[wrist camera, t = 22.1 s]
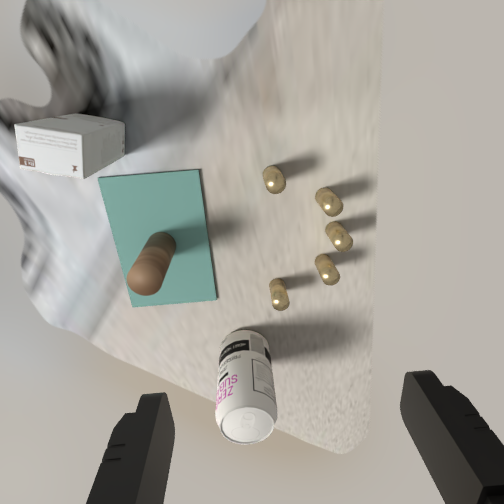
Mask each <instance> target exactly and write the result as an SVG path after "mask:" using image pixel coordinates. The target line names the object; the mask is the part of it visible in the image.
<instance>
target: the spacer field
mask: <svg viewBox="0 0 504 504" xmlns="http://www.w3.org/2000/svg"><path fill="white" fill-rule="evenodd" d="M263 179H264V182H265V185H266V188H267V190H268V191H269V192H270V193H272V194H279V193H281V192H282V191H283V190H284V189H285V186H286V181H285V178H284V177H283V175H282V173H281V172H280V170H279V169H278V168H277V167H276V166H269V167H267V168H266V169H265V170H264V172H263ZM315 199H316V201H317V203H318V204H319V205H320V207H321V208H322V209H323V211H324V212H325V213H326V214H327V215H328V216H331V217H334V216H337V215H339V214H340V213H341V212H342V210H343V203H342V201H341V200H340V199H339V198H338V197H337V196H336V195H335V194H334V193H333V192H332V191H331V190H330V189H329V188H321V189H319V190H318V191H317V193H316V195H315ZM325 232H326V234H327V236H328V237H329V239H330V240H331V242H332V243H333V245H334V246H335V248H336V249H337V250H338V251H341V252H345V251H348V250H349V249H350V248H351V247H352V245H353V239H352V238H351V236H350V235H349V234H348V233H347V231H346V230H345V229H344V228H343V226H342V225H341V224H340V223H339V222H336V221H334V222H330V223H329V224H328V225H327V226H326V229H325ZM315 265H316V267H317V269H318V272H319V274H320V276H321V278H322V280H323V282H324V283H325V284H326V285H334V284H336V283H337V282H338V281H339V279H340V274H339V272H338V271H337V269H336V267H335V265H334V264H333V262H332V260H331V259H330V257H329V256H328V255H326V254H321V255H319V256H317V257H316V259H315ZM269 287H270V293H271V299H272V305H273V307H274V309H276V310H278V311H283V310H285V309H287V308H288V307H289V298H288V295H287V291H286V287H285V283H284V281H283V280H281V279H273V280H272V281H271V282H270V284H269Z"/></svg>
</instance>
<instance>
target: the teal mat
mask: <svg viewBox="0 0 504 504" xmlns="http://www.w3.org/2000/svg"><path fill="white" fill-rule="evenodd" d="M98 182H99V186H100V189H101V193H102V197H103V201H104V204H105V208H106V212H107V215H108V219H109V223H110V226H111V230H112V234H113V237H114V241H115V245H116V248H117V252H118V256H119V259H120V263H121V267H122V270H123V274H124V278H125V281H126V285H127V289H128V292H129V296H130V300H131V303H132V307H143V306H154V305H166V304H178V303H189V302H201V301H213V300H217V297H216V290H215V283H214V276H213V269H212V262H211V255H210V247H209V240H208V233H207V226H206V219H205V212H204V205H203V198H202V190H201V183H200V176H199V169H198V170H186V171H174V172H162V173H150V174H138V175H125V176H113V177H101V178H98ZM156 232H165V233H168V234H169V235H171V236H172V237H173V238H174V240H175V242H176V250H175V253H174V255H173V258H172V260H171V263H170V266H169V268H168V271H167V273H166V276H165V278H164V281H163V284H162V286H161V288H160V290H159V291H158V292H157V293H155V294H153V295H150V296H143V295H139V294H137V293H135V292H133V291H132V290H131V289H130V288H129V286H128V284H127V279H126V278H127V274H128V272H129V271H130V269H131V267H132V266H133V264H134V262H135V261H136V259H137V257H138V256H139V254H140V252H141V251H142V249H143V247H144V246H145V244H146V242H147V241H148V239H149V237H150V236H151V235H152V234H154V233H156Z"/></svg>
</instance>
